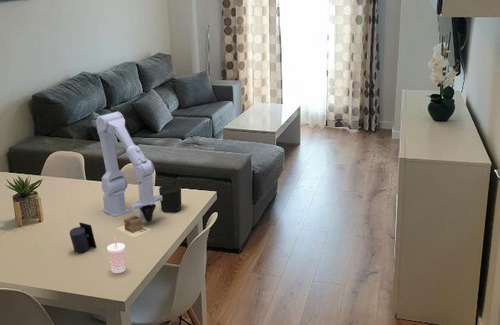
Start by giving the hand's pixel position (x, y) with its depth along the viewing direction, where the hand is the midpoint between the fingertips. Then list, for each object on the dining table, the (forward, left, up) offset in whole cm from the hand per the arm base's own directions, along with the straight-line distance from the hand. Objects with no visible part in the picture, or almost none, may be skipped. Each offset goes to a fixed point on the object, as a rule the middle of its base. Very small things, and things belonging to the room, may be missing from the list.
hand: (148, 221), depth 228 cm
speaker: (0, -31, -1) cm, 31 cm away
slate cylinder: (-6, +3, -1) cm, 7 cm away
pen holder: (-4, +15, -1) cm, 16 cm away
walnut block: (0, -8, -1) cm, 8 cm away
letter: (0, -8, -1) cm, 8 cm away
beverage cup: (+22, -30, -1) cm, 38 cm away
